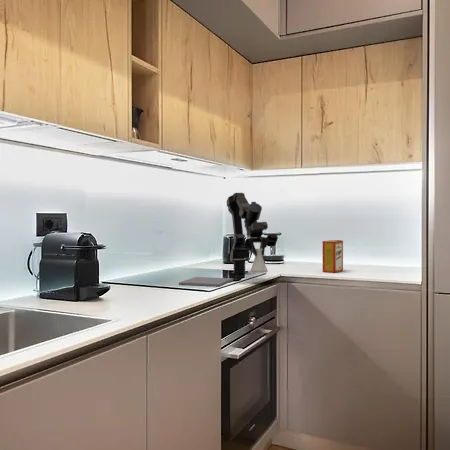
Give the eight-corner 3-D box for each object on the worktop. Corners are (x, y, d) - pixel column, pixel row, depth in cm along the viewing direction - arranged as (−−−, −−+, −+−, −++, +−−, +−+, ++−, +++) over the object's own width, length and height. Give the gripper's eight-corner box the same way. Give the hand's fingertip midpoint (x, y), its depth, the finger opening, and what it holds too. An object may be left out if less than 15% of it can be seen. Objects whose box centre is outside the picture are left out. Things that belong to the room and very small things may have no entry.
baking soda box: (334, 273, 230) (334, 240, 230) (322, 272, 234) (322, 240, 234) (342, 271, 238) (342, 239, 237) (331, 270, 242) (331, 239, 241)
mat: (196, 279, 214) (196, 276, 214) (233, 280, 208) (233, 278, 208) (178, 284, 197) (178, 282, 197) (218, 286, 191) (218, 284, 191)
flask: (270, 272, 198) (270, 248, 198) (256, 273, 194) (255, 249, 194) (261, 271, 204) (261, 248, 204) (247, 272, 201) (247, 248, 201)
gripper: (235, 215, 200) (241, 243, 190) (276, 215, 204) (285, 242, 194) (230, 233, 208) (237, 260, 198) (270, 232, 212) (278, 259, 202)
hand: (259, 255), depth 198 cm, fingers closed on flask, 3 cm apart
